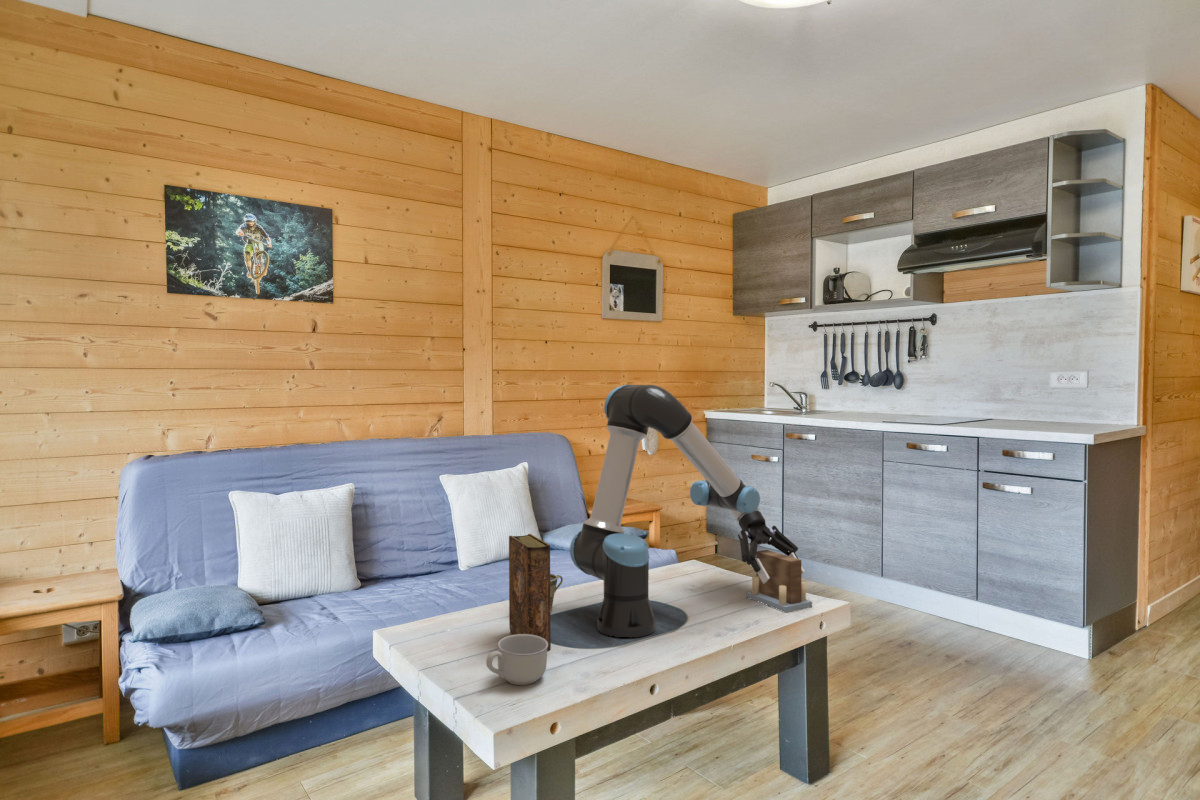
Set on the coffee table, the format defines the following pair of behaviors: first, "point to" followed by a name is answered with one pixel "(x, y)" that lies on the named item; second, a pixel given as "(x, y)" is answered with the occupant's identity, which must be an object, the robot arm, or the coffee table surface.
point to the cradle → (781, 602)
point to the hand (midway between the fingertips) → (784, 577)
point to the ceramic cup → (553, 587)
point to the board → (780, 575)
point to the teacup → (520, 658)
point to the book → (529, 587)
